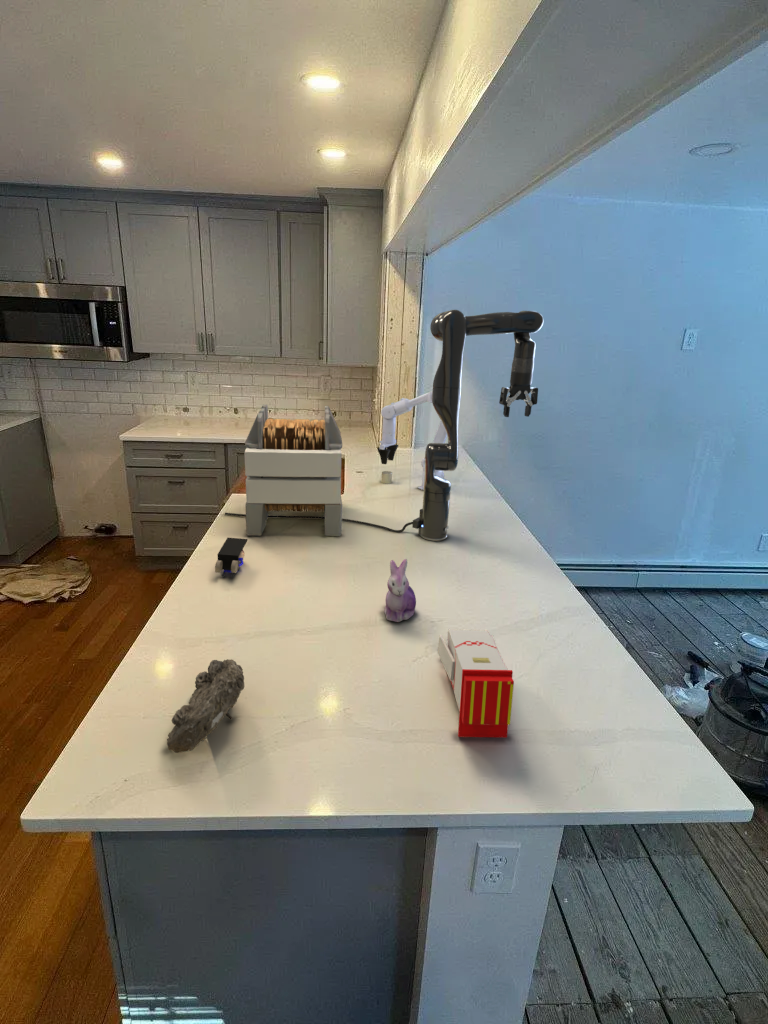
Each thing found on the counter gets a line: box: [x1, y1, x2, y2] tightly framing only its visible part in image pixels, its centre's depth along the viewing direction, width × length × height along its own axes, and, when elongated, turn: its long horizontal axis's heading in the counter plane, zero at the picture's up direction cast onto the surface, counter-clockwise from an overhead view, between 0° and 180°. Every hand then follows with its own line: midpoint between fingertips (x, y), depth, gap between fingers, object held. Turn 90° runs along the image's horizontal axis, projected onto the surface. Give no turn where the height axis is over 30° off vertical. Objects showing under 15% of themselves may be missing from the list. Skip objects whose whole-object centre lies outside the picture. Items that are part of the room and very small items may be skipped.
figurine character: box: [214, 537, 248, 578], centre depth 166 cm, size 7×8×15 cm
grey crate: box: [244, 404, 343, 537], centre depth 202 cm, size 34×33×41 cm
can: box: [380, 470, 393, 485], centre depth 258 cm, size 5×5×4 cm
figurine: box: [384, 558, 417, 623], centre depth 145 cm, size 9×10×15 cm
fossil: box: [166, 658, 245, 754], centre depth 106 cm, size 22×10×15 cm
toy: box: [437, 628, 515, 738], centre depth 117 cm, size 12×13×30 cm
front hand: (516, 416), depth 205 cm, fingers open, 8 cm apart
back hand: (387, 462), depth 256 cm, fingers open, 7 cm apart
